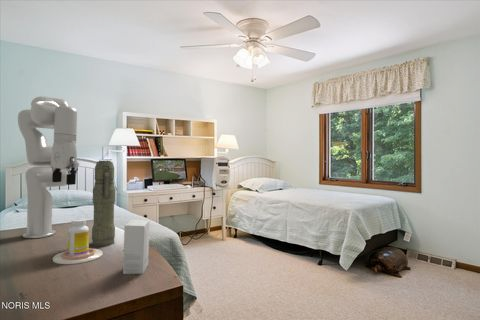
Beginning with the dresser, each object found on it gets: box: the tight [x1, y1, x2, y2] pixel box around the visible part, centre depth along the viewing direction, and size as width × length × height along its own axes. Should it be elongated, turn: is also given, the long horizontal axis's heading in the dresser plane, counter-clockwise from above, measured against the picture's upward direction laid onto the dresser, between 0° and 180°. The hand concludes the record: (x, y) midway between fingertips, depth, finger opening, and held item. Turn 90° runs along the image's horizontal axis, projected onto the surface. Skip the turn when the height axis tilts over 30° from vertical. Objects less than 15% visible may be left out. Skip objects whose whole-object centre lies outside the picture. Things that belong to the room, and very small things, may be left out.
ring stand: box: [52, 247, 103, 265], centre depth 109 cm, size 16×16×2 cm
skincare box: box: [122, 219, 150, 275], centre depth 97 cm, size 8×7×16 cm
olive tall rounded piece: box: [91, 160, 116, 247], centre depth 126 cm, size 9×12×35 cm
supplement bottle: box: [67, 218, 90, 257], centre depth 109 cm, size 7×7×13 cm
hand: (63, 183), depth 115 cm, fingers open, 9 cm apart
